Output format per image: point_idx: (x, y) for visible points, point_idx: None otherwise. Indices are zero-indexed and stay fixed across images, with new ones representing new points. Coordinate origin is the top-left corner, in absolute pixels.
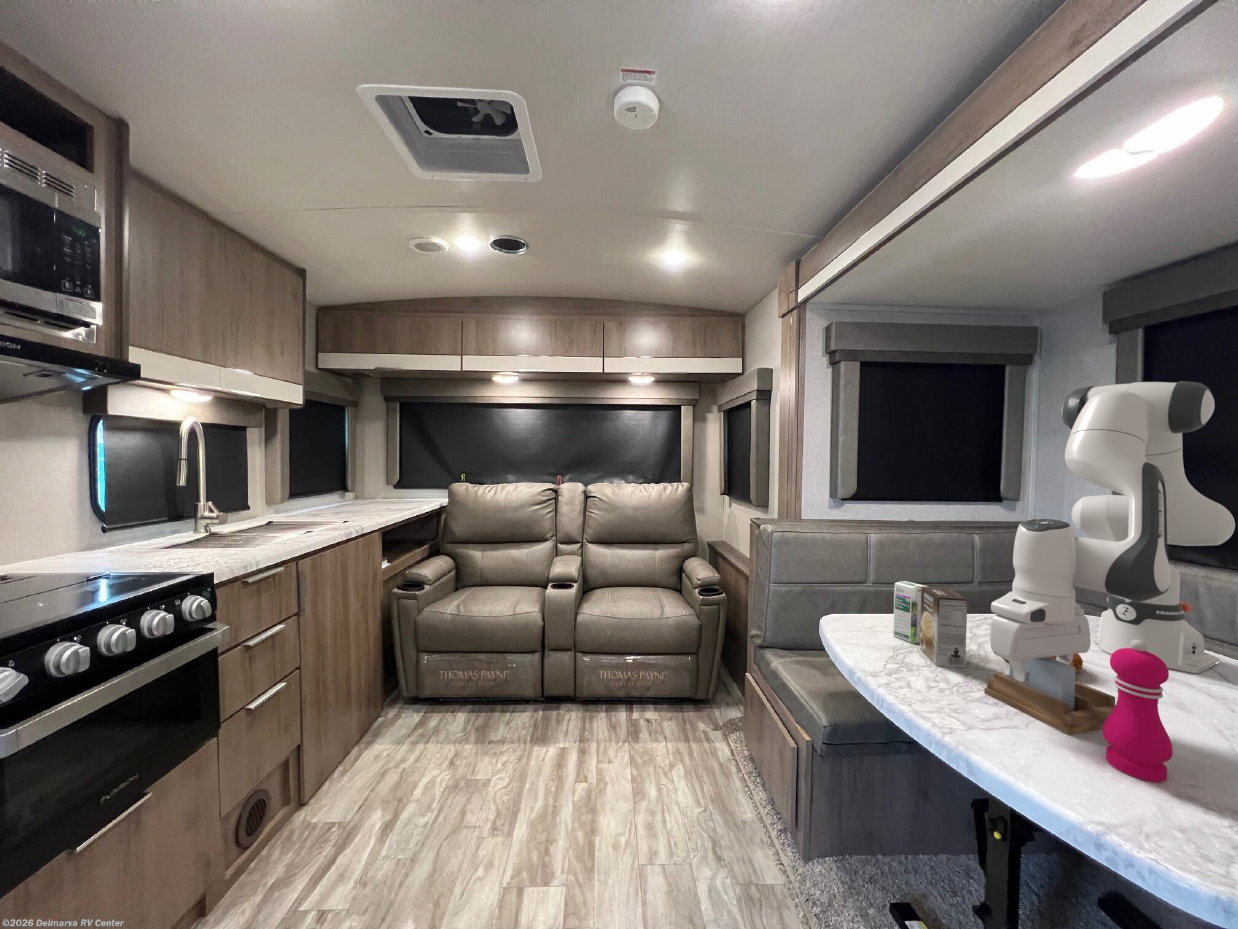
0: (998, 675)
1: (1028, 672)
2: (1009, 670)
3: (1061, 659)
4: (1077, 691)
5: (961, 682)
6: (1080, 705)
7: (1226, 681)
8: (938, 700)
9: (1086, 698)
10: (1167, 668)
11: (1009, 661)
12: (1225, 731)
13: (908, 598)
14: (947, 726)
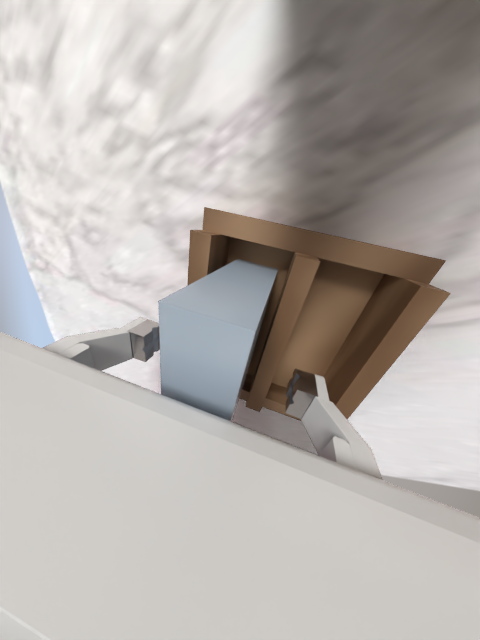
0: (190, 248)
1: (143, 360)
2: (213, 272)
3: (325, 436)
4: (342, 375)
5: (217, 121)
6: (251, 386)
7: None
8: (79, 184)
9: (260, 405)
10: None
11: (72, 337)
12: (450, 484)
13: None
14: (46, 258)
